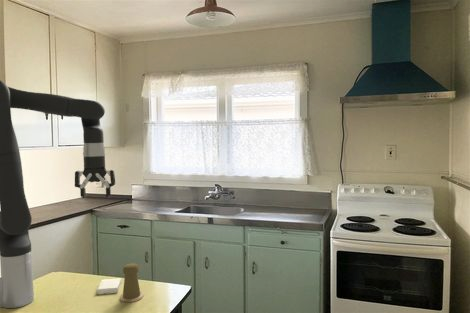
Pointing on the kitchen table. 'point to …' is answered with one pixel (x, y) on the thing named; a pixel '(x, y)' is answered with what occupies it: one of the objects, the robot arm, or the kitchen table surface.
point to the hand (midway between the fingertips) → (95, 197)
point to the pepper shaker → (131, 281)
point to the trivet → (132, 299)
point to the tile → (109, 286)
